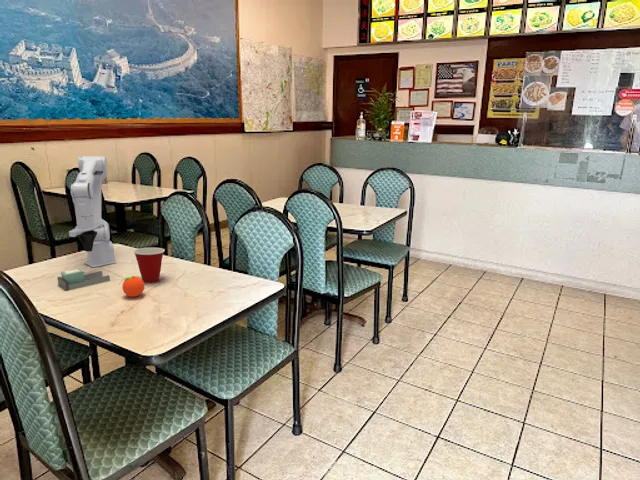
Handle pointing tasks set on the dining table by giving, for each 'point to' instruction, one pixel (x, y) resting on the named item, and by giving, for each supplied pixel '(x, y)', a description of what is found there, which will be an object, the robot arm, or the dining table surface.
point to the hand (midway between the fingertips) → (88, 251)
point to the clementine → (133, 286)
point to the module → (73, 276)
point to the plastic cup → (149, 263)
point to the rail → (67, 286)
